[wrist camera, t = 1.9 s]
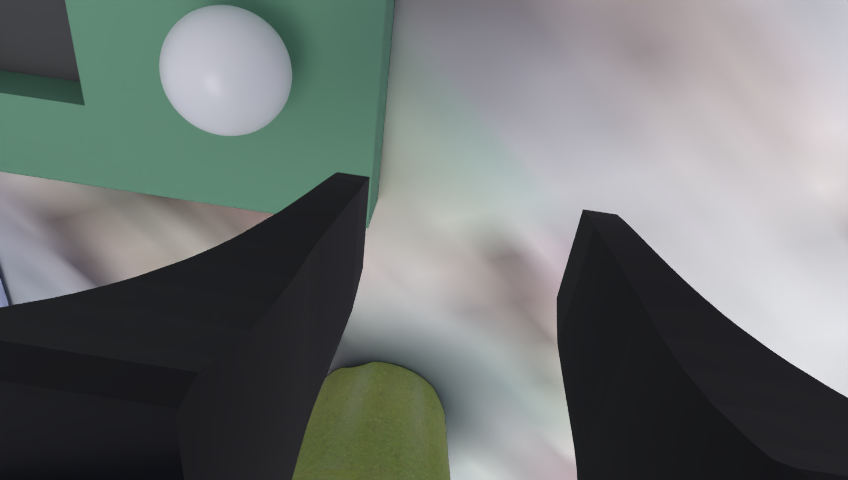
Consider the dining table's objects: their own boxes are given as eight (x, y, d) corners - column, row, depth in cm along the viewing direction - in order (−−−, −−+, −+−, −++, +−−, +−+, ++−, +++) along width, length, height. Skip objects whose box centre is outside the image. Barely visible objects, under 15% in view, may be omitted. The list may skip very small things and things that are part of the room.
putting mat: (-142, 120, 24) (-190, 142, 22) (-287, -241, 18) (-369, -249, 16) (377, 200, 23) (367, 228, 22) (407, -143, 17) (397, -141, 16)
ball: (196, 100, 20) (143, 146, 17) (186, -16, 18) (125, 12, 15) (305, 117, 20) (271, 165, 17) (306, 2, 18) (269, 34, 15)
